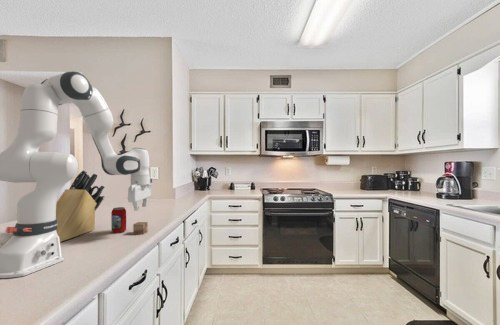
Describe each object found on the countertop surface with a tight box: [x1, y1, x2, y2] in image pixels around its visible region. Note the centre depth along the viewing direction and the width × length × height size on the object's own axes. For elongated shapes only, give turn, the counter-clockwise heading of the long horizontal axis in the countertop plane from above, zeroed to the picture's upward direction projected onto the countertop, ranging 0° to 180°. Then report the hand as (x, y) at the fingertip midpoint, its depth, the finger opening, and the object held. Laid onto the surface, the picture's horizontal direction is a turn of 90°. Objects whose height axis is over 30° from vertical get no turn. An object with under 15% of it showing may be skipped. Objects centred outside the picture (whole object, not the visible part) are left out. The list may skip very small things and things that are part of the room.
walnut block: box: [132, 221, 149, 235], centre depth 140 cm, size 5×5×5 cm
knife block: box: [56, 170, 105, 243], centre depth 138 cm, size 11×35×31 cm, turn 174°
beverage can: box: [110, 206, 127, 234], centre depth 143 cm, size 7×7×12 cm
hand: (140, 208), depth 141 cm, fingers open, 8 cm apart
